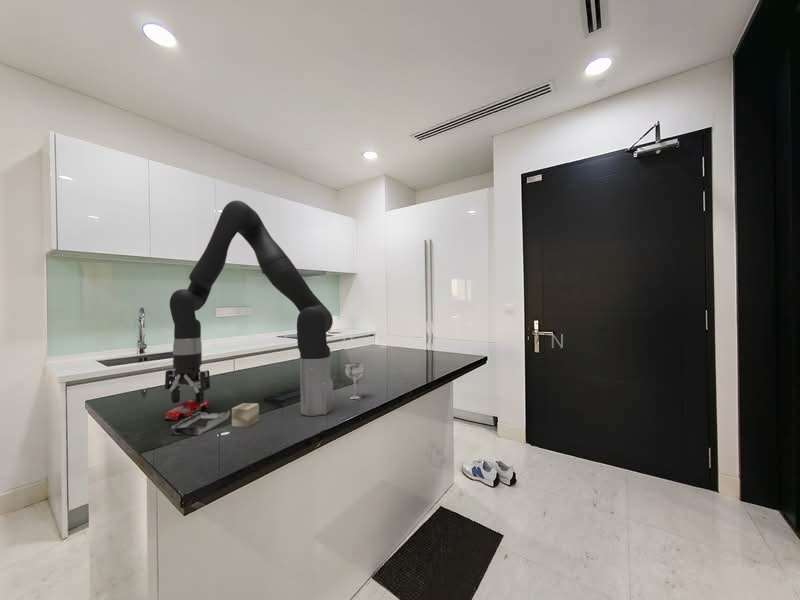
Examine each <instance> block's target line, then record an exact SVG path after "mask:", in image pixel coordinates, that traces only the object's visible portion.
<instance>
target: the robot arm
mask: <svg viewBox="0 0 800 600" xmlns="http://www.w3.org/2000/svg"><path fill="white" fill-rule="evenodd" d="M236 234H239V235H240V236H242V237H243V239H244V240H245V241H246V242H247V243H248V245H249V246H250V247H251V249H252V250H253V252H254V254H255V257H256V260H257V262H258V265H259V268H260V269H261V270H262V272H263V274H264V275H265V277H266V278H267V280H268V281H269V282H270V283H271V284H272V286H273V287H274V288H275V289H276V290H278V291H279V293H280V294H282V295H283V296H285V297H286V298H287V299H288V300H290V302H291V303H292V304H293V305H294V306H295V308H297V310H298V312H299V314H298V316H297V318H296V340H297V341H296V343H297V349H298V351H299V355H300V357H299V359H300V361H299V362H300V363H299V364H300V368H299V370H300V375H299V376H300V377H299V378H300V413H301V415H303V416H308V417H309V416H310V417H313V416H314V417H315V416H316V417H317V416H321V415H324V416H325V415H327V414H328V413H330V412H331V411H332V410H333V409H334V380H333V379H332V378H331V348H330V347H329V345H328V343H327V332H329V331H330V330H331V328H332V326H333V315H332V313H331V312H330V311H329V309H328V308H327V307H326V306H325V305H324V304H323V302H321V301H320V300H319V298H318V296H316V295H315V294H314V292H313V291H312V289H311V288H310V287H309V285H308V284H307V281H306V280H305V279H304V278H303V277H302V274H300V272H299V271H298V269H297V268H296V266H295V265H294V263H293V261H292V260H291V259H290V258H289V256H288V255H287V254H286V253H285V251H284V250H283V248H281V246H280V245H278V243H277V242H276V241H275V240H274V239H273V237H272V236H271V235H270V233H269V231H268V229H267V228H266V226H265V225H264V222H263V221H262V219H261V217H260V216H259V214H258V212H256V210H254V209H253V208H252V207H251V206H249V205H248V204H247V203H245V202H244V201H241V200H231V201H229V202H228V203H227V204H226V205H225V206H224V207H223V209H222V211H221V213H220V216H219V218H218V220H217V223H216V226H215V227H214V230H213V232H212V235H211V237H210V239H209V240H208V243H207V246H206V248H205V249H204V251H203V253H202V255H201V257H200V258H199V259H198V260H197V262H196V264H195V266H194V267H193V269H192V270H191V272H190V274H189V277H188V279H189V281H190V284H189V285H188V288H187V289H186V288H183V289H181V288H180V289H177V290H175V291H174V292H173V293H172V295H171V296H170V298H169V309H170V314H171V319H172V321H173V325H174V326H173V327H174V328H173V335H174V336H173V345H172V367H173V369H167V370H166V371H165V379H164V380H165V381H164V389H165V390H169V391H170V395H171V396H170V400H171V403H172V404H177V403H179V402H180V400H181V396H180V395H181V390H180V389H181V388H182V386H184V385H187V386H190V387H191V388H193V390H194V391H195V394H194V395H195V397H194V398H195V404H196V405H199V404H201V403H203V401H204V399H205V398H204V397H205V394H204V393H205V391H207V390H210V388H211V380H210V378H211V377H210V370H202V371H201V366H202V364H203V363H202V361H203V360H202V358H203V357H202V356H203V355H202V352H203V351H202V350H203V349H202V346H203V345H202V330H201V329H202V325H201V322H200V320H198V319H197V318H196V311H199V310H200V309H201V308H203V307H204V306H205V304H206V302H207V301H208V298H209V296H210V293H211V291H212V287H213V285H214V284H215V282H216V280H217V279H218V277H220V275H221V272H222V271H223V269H224V267H225V264H226V261H227V256H228V251H229V248H230V245H231V243H232V240H233V238H234V237H235V236H236Z"/></svg>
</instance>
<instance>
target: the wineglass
mask: <svg viewBox="0 0 800 600" xmlns="http://www.w3.org/2000/svg"><path fill="white" fill-rule="evenodd" d="M344 366H345V368H344V369H345V375H346V377H348V378H349V379H351V380H352V381H353V395H352V396H349V397H350V399H358V398H360V397H361V396H360V397H359V395H356V393H357V392H356V388H357V385H356V383H357V381H358V379H360V378H362V376H363V375H364V372H365V368H364V363H361V362H351V363H347V364H345V365H344Z"/></svg>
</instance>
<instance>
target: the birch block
mask: <svg viewBox="0 0 800 600" xmlns="http://www.w3.org/2000/svg"><path fill="white" fill-rule="evenodd" d="M259 421H260V404H259V403H250V402H248V403H247V402H246V403H245V402H243V403H240V404H238V405H237V406H234V407H231V427H238V428H239V427H240V428H249V427H250V426H252V425H254V424H255V423H257V422H259Z"/></svg>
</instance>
